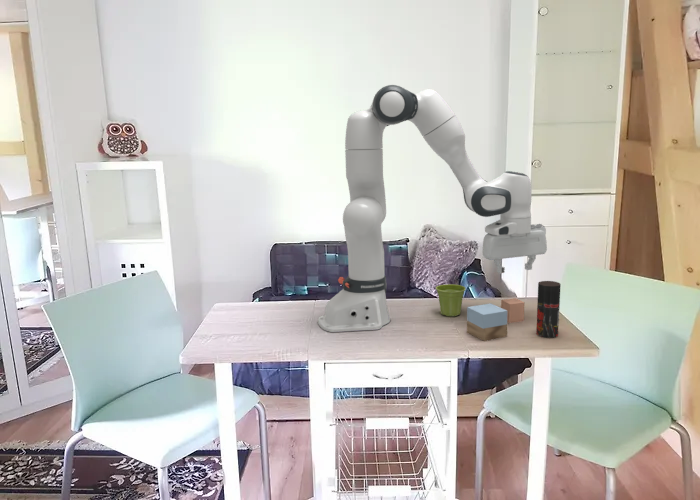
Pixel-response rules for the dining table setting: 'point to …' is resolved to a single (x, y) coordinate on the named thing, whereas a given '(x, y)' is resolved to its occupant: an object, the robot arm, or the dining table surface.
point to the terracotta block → (513, 309)
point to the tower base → (486, 331)
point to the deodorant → (548, 309)
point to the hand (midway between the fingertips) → (514, 271)
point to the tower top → (487, 315)
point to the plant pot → (450, 298)
